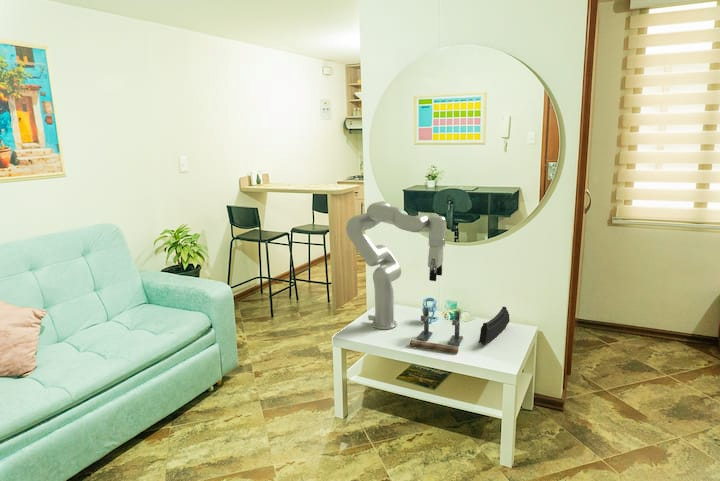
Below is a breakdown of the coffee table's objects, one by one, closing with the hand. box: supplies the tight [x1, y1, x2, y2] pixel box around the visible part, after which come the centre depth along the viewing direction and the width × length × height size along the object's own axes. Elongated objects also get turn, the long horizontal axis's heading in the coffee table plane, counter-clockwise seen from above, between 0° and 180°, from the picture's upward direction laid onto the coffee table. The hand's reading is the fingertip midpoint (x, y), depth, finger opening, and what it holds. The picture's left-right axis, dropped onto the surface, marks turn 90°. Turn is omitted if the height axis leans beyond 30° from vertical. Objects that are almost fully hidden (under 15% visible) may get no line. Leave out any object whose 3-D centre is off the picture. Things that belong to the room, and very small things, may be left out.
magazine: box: [478, 306, 511, 345], centre depth 234 cm, size 17×3×30 cm
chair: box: [421, 297, 439, 325], centre depth 254 cm, size 8×8×12 cm
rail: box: [409, 339, 459, 355], centre depth 221 cm, size 22×3×2 cm, turn 67°
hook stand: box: [416, 307, 464, 347], centre depth 231 cm, size 20×9×14 cm, turn 67°
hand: (435, 277), depth 229 cm, fingers open, 9 cm apart
